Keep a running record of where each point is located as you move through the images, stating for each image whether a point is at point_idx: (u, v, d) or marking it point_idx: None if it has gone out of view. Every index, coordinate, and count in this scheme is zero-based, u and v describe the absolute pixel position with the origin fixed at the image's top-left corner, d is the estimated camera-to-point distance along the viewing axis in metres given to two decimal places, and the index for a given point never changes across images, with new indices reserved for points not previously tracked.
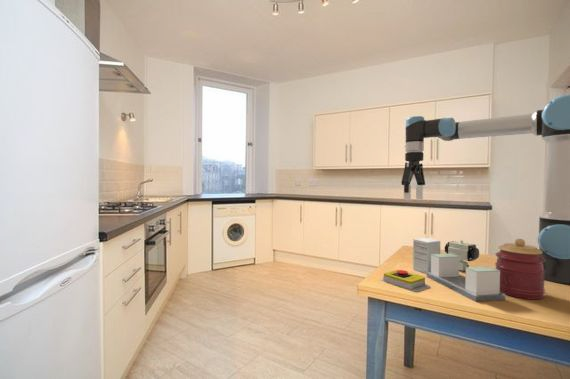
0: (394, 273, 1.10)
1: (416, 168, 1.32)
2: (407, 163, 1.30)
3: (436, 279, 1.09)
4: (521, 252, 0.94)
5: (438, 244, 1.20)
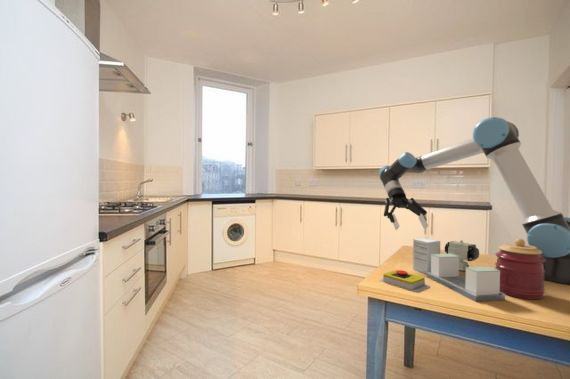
0: (393, 273, 1.09)
1: (398, 201, 1.40)
2: (385, 200, 1.42)
3: (436, 279, 1.09)
4: (521, 252, 0.94)
5: (438, 244, 1.20)
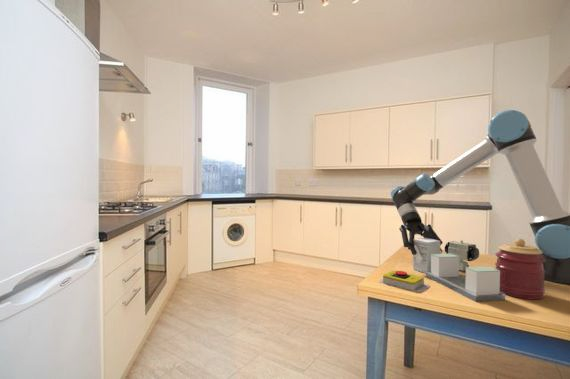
0: (393, 274, 1.08)
1: (414, 227, 1.28)
2: (400, 227, 1.29)
3: (436, 279, 1.09)
4: (521, 252, 0.94)
5: (438, 244, 1.20)
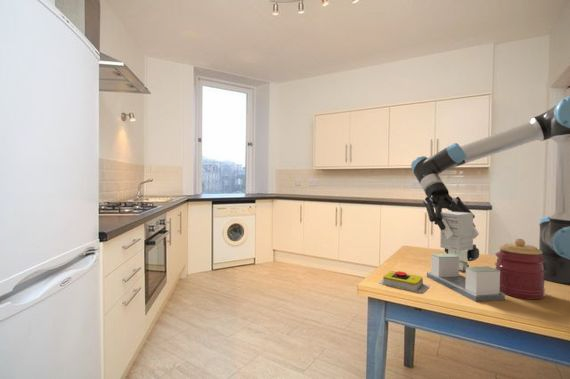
0: (392, 275, 1.07)
1: (441, 199, 1.11)
2: (424, 200, 1.12)
3: (436, 279, 1.09)
4: (521, 252, 0.94)
5: (470, 217, 1.03)
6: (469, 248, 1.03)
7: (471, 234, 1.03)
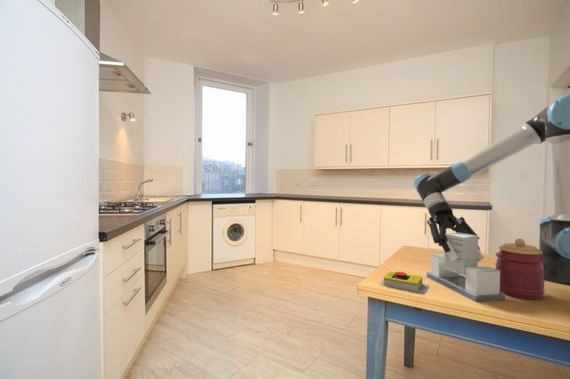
0: (392, 276, 1.07)
1: (445, 220, 1.09)
2: (428, 220, 1.10)
3: (436, 279, 1.09)
4: (521, 252, 0.94)
5: (475, 240, 1.01)
6: None
7: (476, 257, 1.01)
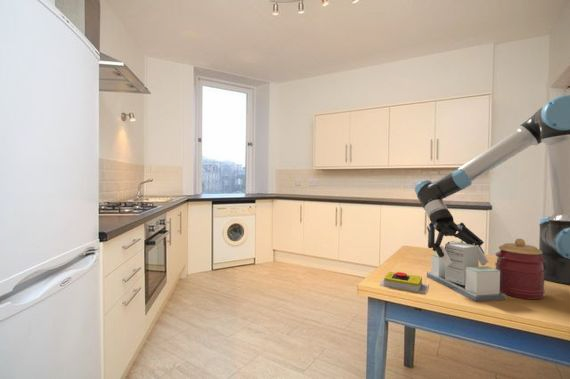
0: (392, 276, 1.06)
1: (445, 227, 1.09)
2: (428, 226, 1.11)
3: (436, 279, 1.09)
4: (521, 252, 0.94)
5: (475, 250, 1.01)
6: None
7: None
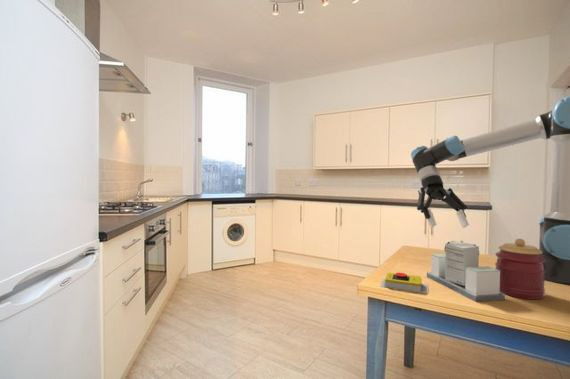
0: (393, 277, 1.05)
1: (435, 192, 1.18)
2: (419, 190, 1.20)
3: (436, 279, 1.09)
4: (521, 252, 0.94)
5: (476, 250, 1.01)
6: None
7: None
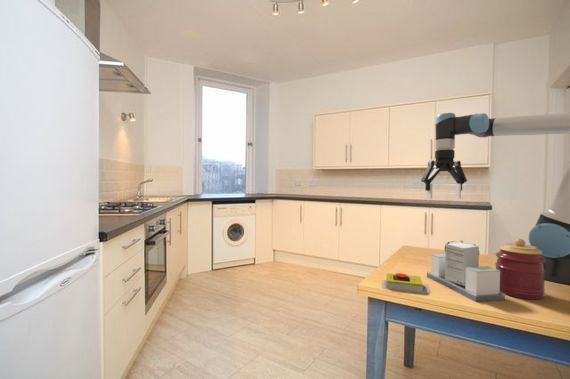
0: (393, 278, 1.04)
1: (443, 166, 1.30)
2: (430, 161, 1.31)
3: (436, 279, 1.09)
4: (521, 252, 0.94)
5: (476, 250, 1.01)
6: None
7: None
